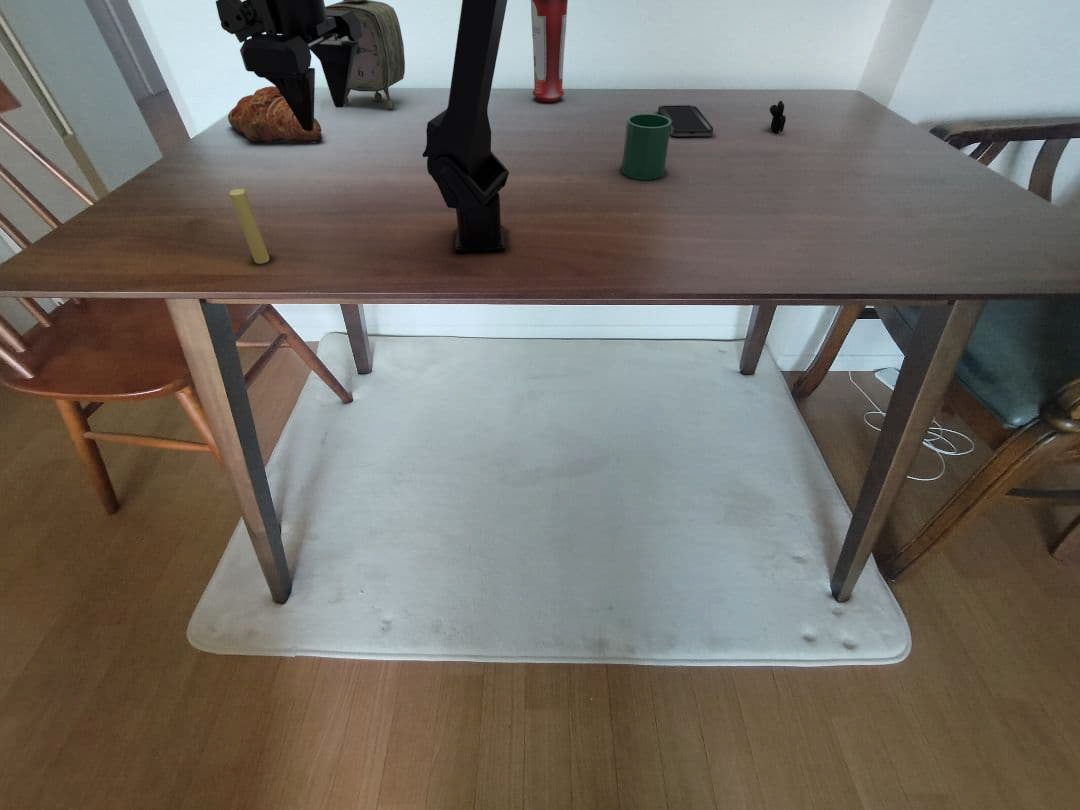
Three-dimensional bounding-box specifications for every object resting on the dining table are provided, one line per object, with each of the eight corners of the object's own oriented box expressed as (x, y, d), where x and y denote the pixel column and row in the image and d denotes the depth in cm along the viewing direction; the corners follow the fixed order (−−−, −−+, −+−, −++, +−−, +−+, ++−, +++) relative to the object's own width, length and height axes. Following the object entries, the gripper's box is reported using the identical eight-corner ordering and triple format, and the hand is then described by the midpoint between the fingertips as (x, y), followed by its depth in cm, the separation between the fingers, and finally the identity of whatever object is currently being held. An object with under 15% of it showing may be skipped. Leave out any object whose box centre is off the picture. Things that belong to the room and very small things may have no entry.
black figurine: (782, 137, 108) (790, 108, 104) (769, 136, 108) (776, 107, 104) (775, 124, 113) (782, 96, 109) (762, 124, 113) (769, 96, 109)
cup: (667, 179, 93) (676, 127, 88) (626, 180, 93) (632, 128, 87) (658, 163, 98) (665, 113, 93) (618, 164, 98) (623, 114, 92)
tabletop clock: (333, 106, 121) (299, -45, 103) (355, 94, 127) (327, -50, 110) (395, 113, 118) (371, -42, 100) (415, 100, 124) (395, -47, 107)
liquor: (527, 96, 126) (525, -69, 107) (558, 93, 128) (562, -70, 109) (537, 105, 121) (536, -66, 102) (569, 102, 123) (575, -67, 104)
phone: (695, 105, 118) (714, 130, 107) (694, 111, 118) (713, 136, 108) (657, 105, 117) (672, 130, 106) (656, 111, 118) (671, 136, 107)
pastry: (224, 153, 101) (206, 103, 96) (232, 125, 112) (216, 79, 106) (323, 143, 105) (311, 95, 99) (322, 117, 115) (311, 72, 110)
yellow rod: (267, 263, 73) (242, 194, 67) (253, 264, 73) (227, 195, 67) (271, 256, 75) (247, 188, 69) (257, 257, 75) (231, 188, 68)
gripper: (262, -48, 70) (299, 93, 81) (166, -27, 56) (225, 139, 67) (350, -46, 69) (375, 97, 79) (272, -23, 55) (315, 146, 66)
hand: (324, 118), depth 73 cm, fingers open, 9 cm apart
